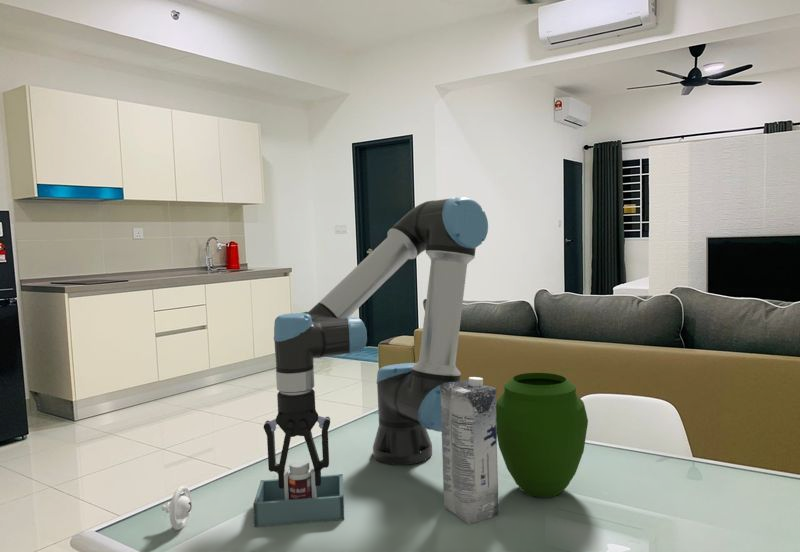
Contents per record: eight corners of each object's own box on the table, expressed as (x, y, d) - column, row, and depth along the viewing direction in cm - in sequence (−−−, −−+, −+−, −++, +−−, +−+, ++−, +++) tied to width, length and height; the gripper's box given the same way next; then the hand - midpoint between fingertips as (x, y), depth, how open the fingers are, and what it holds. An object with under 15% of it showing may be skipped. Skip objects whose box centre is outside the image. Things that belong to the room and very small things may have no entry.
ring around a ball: (182, 537, 111) (179, 496, 111) (153, 537, 112) (150, 496, 111) (199, 517, 119) (196, 479, 119) (172, 517, 120) (169, 479, 119)
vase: (594, 479, 131) (593, 371, 129) (582, 518, 113) (580, 394, 112) (508, 467, 139) (506, 366, 138) (484, 502, 122) (481, 386, 120)
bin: (343, 494, 128) (342, 474, 127) (344, 519, 116) (343, 497, 116) (261, 501, 126) (260, 480, 125) (254, 527, 114) (253, 504, 114)
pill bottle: (285, 507, 119) (283, 467, 119) (294, 497, 124) (292, 458, 123) (308, 509, 118) (306, 468, 118) (316, 498, 123) (314, 459, 122)
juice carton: (467, 528, 111) (463, 387, 109) (438, 507, 120) (434, 377, 118) (505, 517, 115) (502, 381, 113) (474, 497, 124) (471, 371, 122)
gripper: (339, 383, 124) (344, 490, 126) (253, 388, 122) (259, 497, 124) (339, 392, 117) (344, 506, 118) (248, 397, 115) (254, 513, 116)
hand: (301, 501), depth 121 cm, fingers closed on pill bottle, 5 cm apart
